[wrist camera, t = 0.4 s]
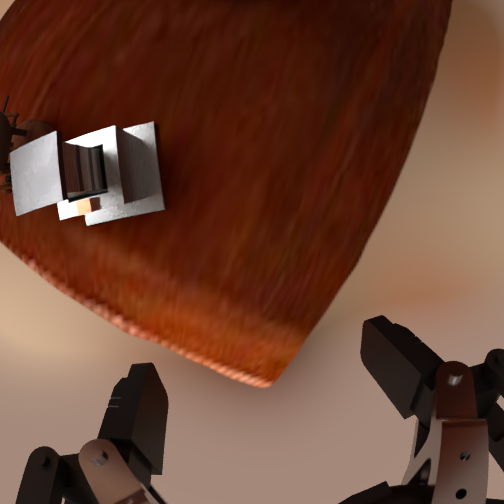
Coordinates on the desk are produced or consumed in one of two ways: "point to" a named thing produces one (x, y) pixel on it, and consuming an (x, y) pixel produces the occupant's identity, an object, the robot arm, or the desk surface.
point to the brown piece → (16, 140)
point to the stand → (121, 175)
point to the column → (54, 172)
